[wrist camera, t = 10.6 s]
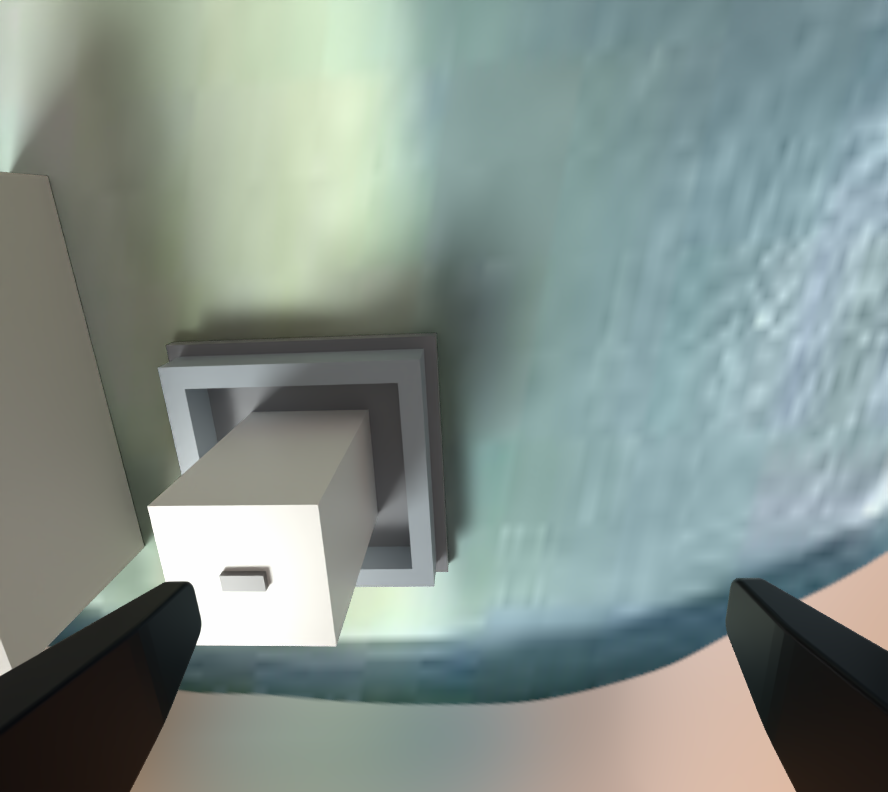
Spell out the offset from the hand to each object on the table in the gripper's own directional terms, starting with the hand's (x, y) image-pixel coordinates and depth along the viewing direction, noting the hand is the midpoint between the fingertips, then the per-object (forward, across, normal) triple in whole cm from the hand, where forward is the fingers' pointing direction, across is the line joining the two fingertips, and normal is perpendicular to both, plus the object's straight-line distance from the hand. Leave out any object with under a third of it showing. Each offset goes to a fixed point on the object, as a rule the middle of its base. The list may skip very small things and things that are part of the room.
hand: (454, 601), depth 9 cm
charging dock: (+12, +6, +3) cm, 14 cm away
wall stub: (+12, +15, 0) cm, 19 cm away
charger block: (+12, +6, +3) cm, 13 cm away
